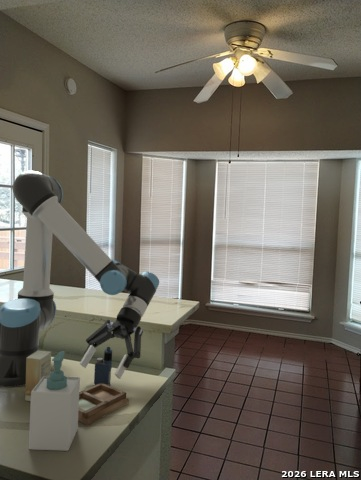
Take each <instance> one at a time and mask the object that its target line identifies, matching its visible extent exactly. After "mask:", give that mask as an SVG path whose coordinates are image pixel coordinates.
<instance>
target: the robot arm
mask: <svg viewBox="0 0 361 480" xmlns="http://www.w3.org/2000/svg"><path fill="white" fill-rule="evenodd" d="M12 192H13V196H14V197H15V200H16V201H17V202H18V203H19V204H20V206H22V207H21V209H22V211H21V212H22V214H23V215H24V216H25V218H26V223H25V225H26V226H25V245H24V247H25V248H24V265H23V279H22V280H23V283H22V288H21V289H20V290H18V291H17V298H15V299H13V300H12V299H11V300H8V301H6V302H4V303H3V304H2V305H1V306H0V387H5V388H9V387H11V388H12V387H13V388H14V387H21V386H26V358H27V357H28V356H30V355H31V354H33V353H34V352H36V351H37V350H39V347H40V346H39V344H40V343H39V342H40V341H39V340H40V332H42V331H43V330H45V329H46V328H47V327H48V326H50V324H51V323H52V322H53V321H54V318H55V317H56V313H57V304H56V302H55V300H54V295H55V292H54V291H53V290H52V288H50V283H51V282H50V281H51V269H52V266H51V264H52V251H53V250H52V248H53V247H52V246H53V235H54V236H55V237H56V238H57V239H58V240H59V241H60V242H61V244H63V246H65V247H66V249H67V250H68V251H69V252H70V253H71V254H72V255H73V256H74V257H75V258H76V259H77V260H78V261H79V263H80V264H82V266H83V267H85V269H86V270H87V271H88V272H89V273H90V274H91V275H92V276H93V277H94V279H96V281H97V282H98V283H99V285H100V288H101V290H102V291H103V292H104V293H105V294H107V295H109V296H116V295H118V294H120V293H122V292H123V291H124V292H126V293H128V294H129V295H128V296H127V298H126V300H125V301H124V303H123V305H122V307H121V308H120V310H119V312H118V313H117V315H116V320H115V321H111V320H110V319H106V320H105V322H104V323H103V325H101V326H100V327H99V328H98V329H97V330H95V331H94V332H93V333H92V334H91V335H89V336H88V337H87V338H86V339H85V342H86V343H87V344H88V346H87V347H86V349H85V351H84V353H83V354H84V355H83V357H82V358H81V360H80V362H79V365H80V366H82V367H83V368H84V369H86V368H87V366H88V365H89V363H90V361H91V359H92V357H93V355H94V354H95V353H96V351H97V349H96V348H97V347H99V346H100V345H102V344H104V343H105V342H107V341H109V340H110V339H115V338H117V339H118V338H119V339H122V340H124V342H125V346H126V352H127V353H126V354H124V355H123V357H122V358H121V360H120V362H119V365H118V366H117V368H116V370H115V372H114V375H115V377H116V378H117V379H120V380H121V379H122V376H123V374H124V373H125V371H126V369H128V368H129V367H130V365H131V363H132V362H133V360H134V359H140V358H141V351H142V348H141V347H142V346H141V345H142V335H143V333H144V330H143V329H142V328H141V326H139V325H140V322H141V320H142V318H143V317H144V315H145V313H146V311H147V308H148V307H149V305H150V303H151V301H152V299H153V297H154V296H155V294H156V293H157V289H158V287H159V285H160V279H159V278H158V276H157V275H156V274H154V273H153V272H149V271H143V272H141V273H137V272H136V271H134V270H132V269H130V268H129V267H127V266H126V265H125V264H122V263H121V262H120V261H117V260H115V259H112V258H110V256H109V255H107V253H106V252H105V251H104V250H103V248H101V247H100V246H99V245H98V244H97V243H96V242H95V240H94V239H93V238H92V237H91V236H90V235H89V234H88V233H87V232H86V231H85V229H84V228H83V227H82V226H81V225H80V224H79V223H78V222H77V221H76V220H75V219H74V218H73V217H72V215H71V214H69V212H68V211H67V210H66V209H65V208H64V207H63V206H62V205H61V202H62V201H63V197H64V190H63V188H62V186H61V184H60V183H59V181H57V179H56V178H54V177H52V176H51V175H48V174H44V173H42V172H40V171H35V170H26V171H23V172H21V173H20V174H18V176H16V178H15V179H14V181H13V184H12ZM133 334H134V338H133V339H134V341H133V343H132V337H131V335H133Z"/></svg>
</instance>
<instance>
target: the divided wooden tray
mask: <svg viewBox="0 0 361 480" xmlns="http://www.w3.org/2000/svg"><path fill="white" fill-rule="evenodd" d="M129 403H130V398H128V397H127V392H126V391H123V390H121V389H119V388H116V387H113V386H111V385H110V386H109V385H106V384H104V383H99V384H97V385H95V384H94V385H93V386H90V387H87V388H86V389H85V388H84V390H80V391H79V411H78V422H81V423H83V424H85V425H87V426H89V425H91V424H92V423H94V422H96V421H98V420H100V419H102V418H103V416H104V417H105V416H107V415H109V414H111V413H112V412H114V410H115V411H116V410H119V409H120V408H122V407H123V406H126V405H128V404H129Z"/></svg>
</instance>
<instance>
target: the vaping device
mask: <svg viewBox="0 0 361 480" xmlns="http://www.w3.org/2000/svg"><path fill="white" fill-rule="evenodd" d="M112 362H113V349H111V347H110V346H106V349H104V353H103V357H97V358H96V361H95V363H94V375H93V381H94V382H93V384H94V386H95V385H97V384H99V383H104V384H106V385H109V386H111V377H112V376H111V374H112V369H113V367H112V365H113V363H112Z"/></svg>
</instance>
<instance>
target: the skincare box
mask: <svg viewBox="0 0 361 480" xmlns="http://www.w3.org/2000/svg"><path fill="white" fill-rule="evenodd" d="M51 367H52V351H47V350H39V349H38V350H37V351H36V352H34V353H33V354H31V355H30V356H28V357H27V358H26V385H25V388H24V389H25V390H24V392H25V395H24V396H25V397H24V401H27V402H31V391H32V390H33V389H34V388H35V386H36V385H37V384H38V383H39V381H40V380H41V379H42V378H43V376H50V374H51V372H52V371H51V369H52V368H51Z"/></svg>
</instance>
